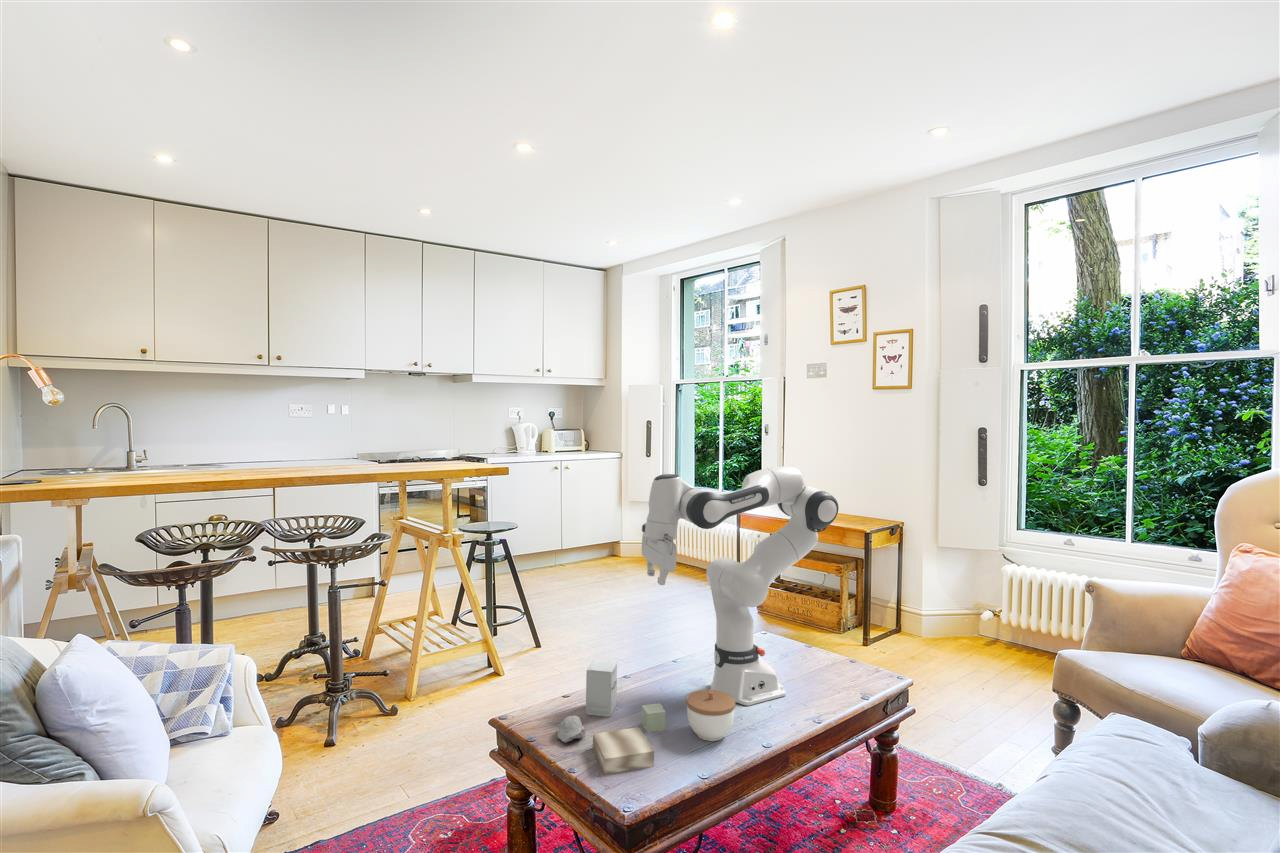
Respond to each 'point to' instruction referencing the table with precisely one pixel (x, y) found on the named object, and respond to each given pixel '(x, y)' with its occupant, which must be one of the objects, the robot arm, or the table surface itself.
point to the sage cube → (653, 717)
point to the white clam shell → (571, 729)
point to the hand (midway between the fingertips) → (655, 580)
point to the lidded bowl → (710, 713)
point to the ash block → (623, 750)
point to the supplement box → (601, 688)
